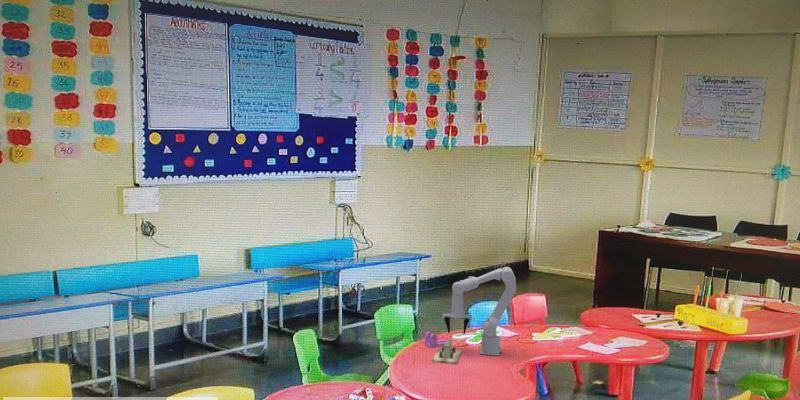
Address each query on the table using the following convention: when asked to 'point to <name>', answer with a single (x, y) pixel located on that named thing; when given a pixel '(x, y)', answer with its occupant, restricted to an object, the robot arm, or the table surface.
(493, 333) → the robot arm
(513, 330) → the table surface
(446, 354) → the door
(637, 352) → the table surface
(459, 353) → the beige board with pegs
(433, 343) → the bracket
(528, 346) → the table surface
